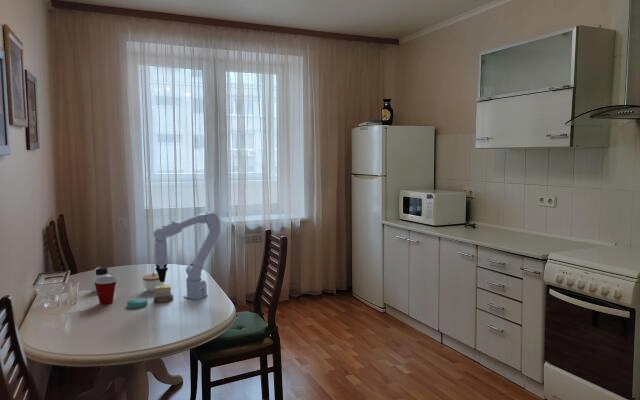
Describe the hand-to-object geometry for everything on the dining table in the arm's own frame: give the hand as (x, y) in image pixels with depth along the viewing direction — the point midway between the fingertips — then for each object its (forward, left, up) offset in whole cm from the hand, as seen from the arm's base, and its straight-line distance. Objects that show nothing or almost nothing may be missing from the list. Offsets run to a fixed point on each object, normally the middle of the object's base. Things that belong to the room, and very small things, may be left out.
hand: (162, 279), depth 232 cm
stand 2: (0, 0, -10) cm, 10 cm away
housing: (0, 0, -8) cm, 8 cm away
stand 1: (+6, +11, -10) cm, 16 cm away
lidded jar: (+17, -11, -11) cm, 23 cm away
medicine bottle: (+44, -1, -11) cm, 45 cm away
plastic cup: (+23, +14, -11) cm, 29 cm away
